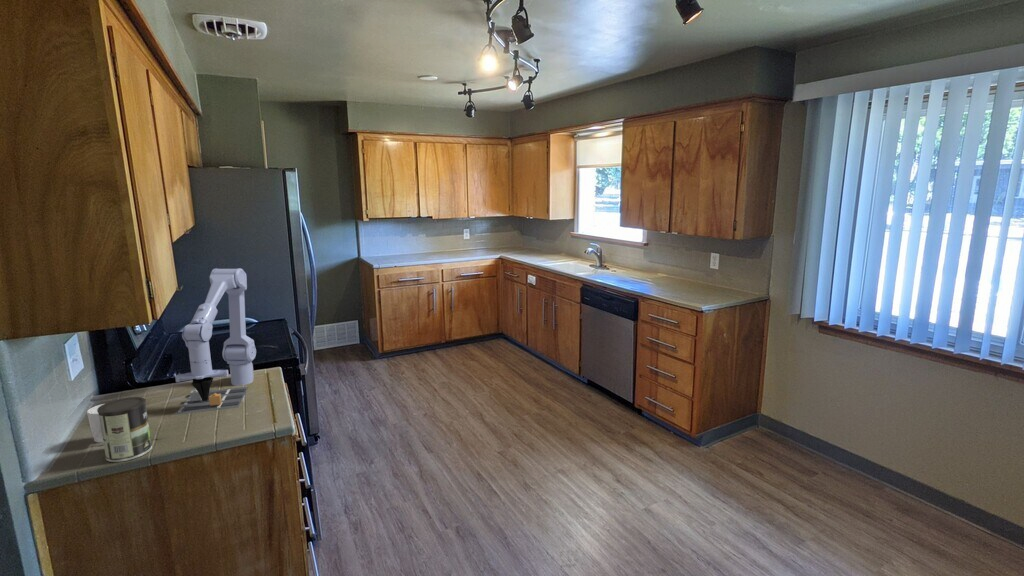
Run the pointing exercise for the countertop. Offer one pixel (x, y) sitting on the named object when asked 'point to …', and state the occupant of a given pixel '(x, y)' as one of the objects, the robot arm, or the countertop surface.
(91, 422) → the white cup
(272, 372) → the countertop surface
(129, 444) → the coffee can
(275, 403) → the countertop surface
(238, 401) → the control board
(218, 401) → the orange slider knob
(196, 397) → the cube with peg
